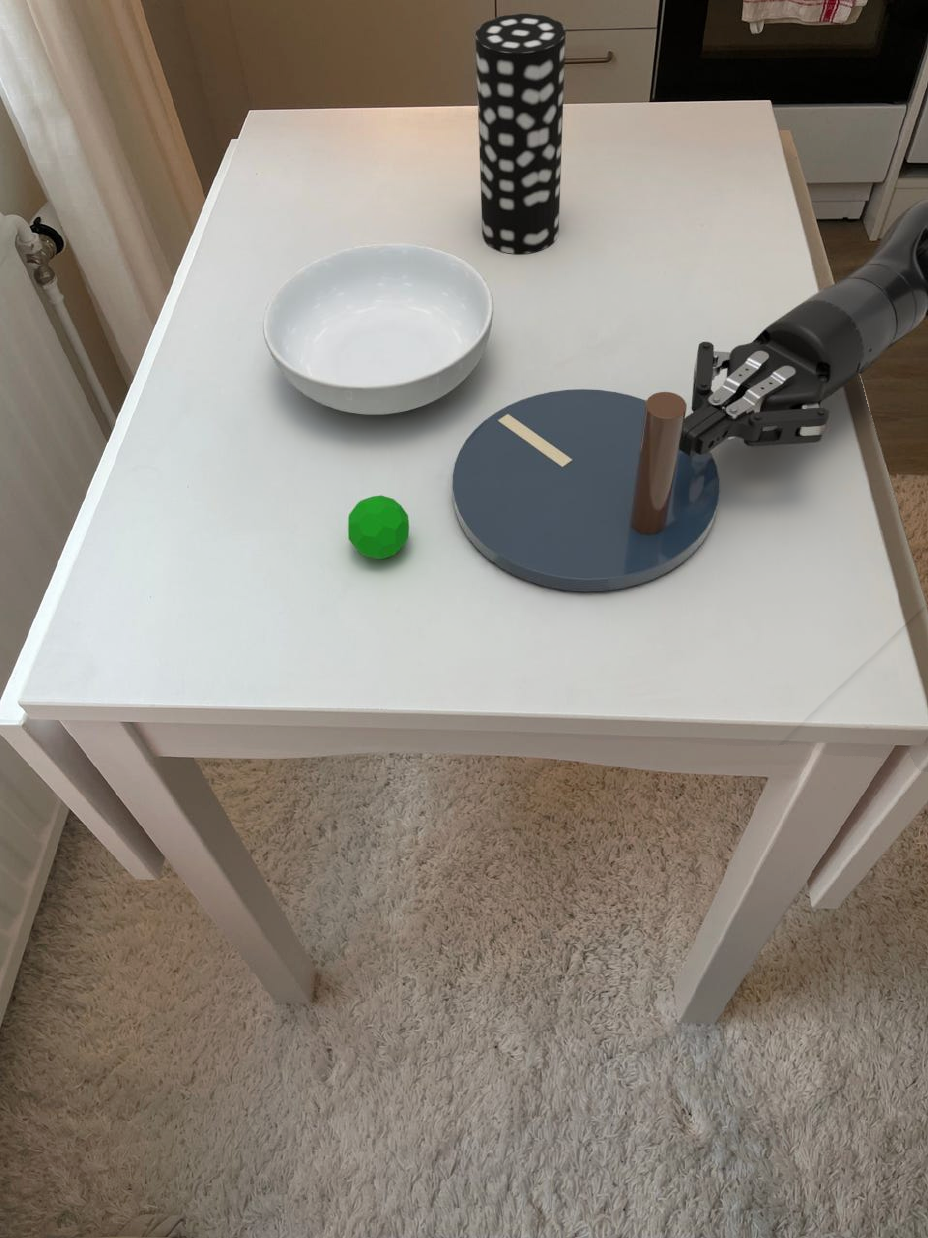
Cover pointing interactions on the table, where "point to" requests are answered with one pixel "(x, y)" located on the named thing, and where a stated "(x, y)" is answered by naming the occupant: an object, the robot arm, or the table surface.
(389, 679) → the table surface
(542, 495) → the peg stand
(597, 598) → the table surface
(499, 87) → the spotted tube
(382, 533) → the polyhedron
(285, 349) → the serving bowl
